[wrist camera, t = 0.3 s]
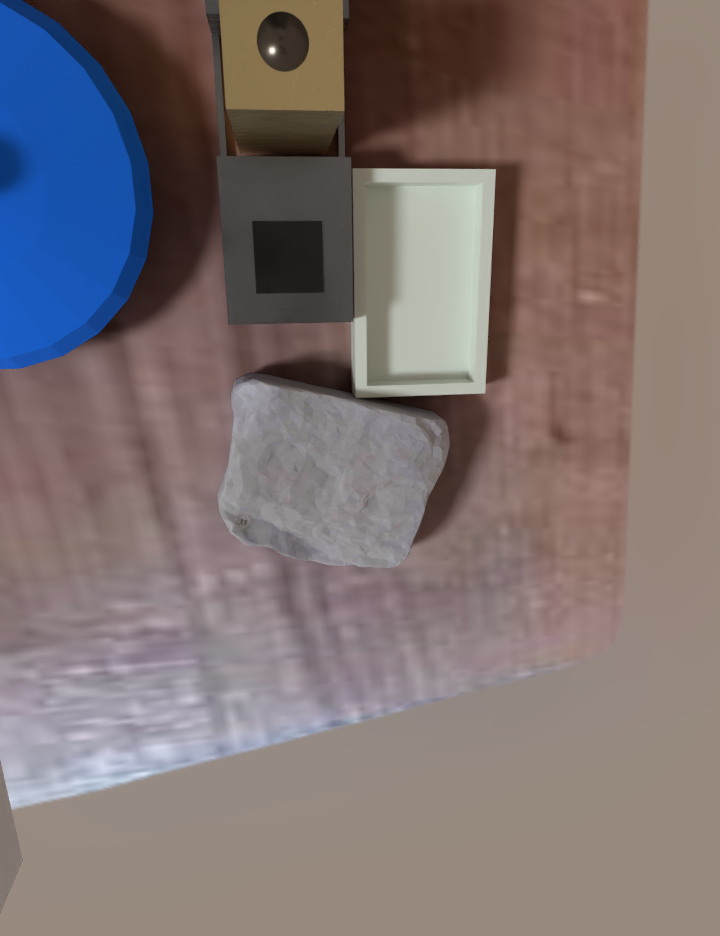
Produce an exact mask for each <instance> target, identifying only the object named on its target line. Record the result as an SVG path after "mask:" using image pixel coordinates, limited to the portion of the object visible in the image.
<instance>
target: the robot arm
mask: <svg viewBox="0 0 720 936" xmlns="http://www.w3.org/2000/svg"><path fill="white" fill-rule="evenodd" d="M22 861H23V859H22V855H21V850H20V846H19V841H18V837H17V833H16V828H15V824H14V819H13V815H12V810H11V806H10V801H9V797H8V793H7V788H6V784H5V779H4V775H3V770H2V766H1V762H0V912H1V910H2V908H3V905H4V903H5V901H6V898H7V896H8V894H9V891H10V889H11V887H12V884H13V882H14V880H15V877H16V875H17V873H18V870H19V868H20V866H21V863H22Z"/></svg>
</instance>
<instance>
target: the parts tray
mask: <svg viewBox="0 0 720 936" xmlns="http://www.w3.org/2000/svg"><path fill="white" fill-rule="evenodd" d="M495 177H496V169H381V168H352V170H351V187H352V256H353V322H351V366H352V393H353V394H354V396H355V398H369V397H397V396H425V395H453V394H481V393H485V387H486V366H487V345H488V324H489V303H490V282H491V261H492V240H493V219H494V198H495Z"/></svg>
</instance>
